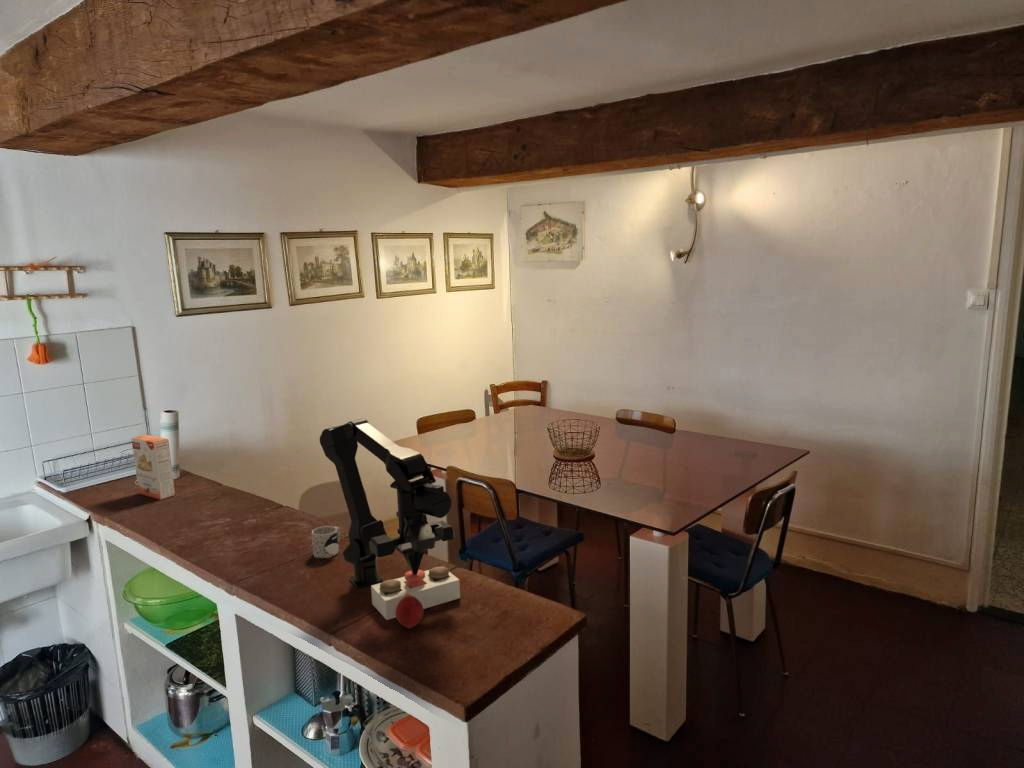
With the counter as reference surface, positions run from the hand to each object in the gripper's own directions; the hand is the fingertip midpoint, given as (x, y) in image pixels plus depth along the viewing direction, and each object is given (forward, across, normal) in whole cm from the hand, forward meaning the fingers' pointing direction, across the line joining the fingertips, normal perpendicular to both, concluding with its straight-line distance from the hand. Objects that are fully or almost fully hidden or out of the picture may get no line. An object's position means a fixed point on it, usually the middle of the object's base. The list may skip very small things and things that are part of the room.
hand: (414, 573), depth 159 cm
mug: (+7, -8, +41) cm, 42 cm away
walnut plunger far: (+6, +6, 0) cm, 9 cm away
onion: (+7, -6, -11) cm, 14 cm away
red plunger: (+5, 0, 0) cm, 5 cm away
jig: (+7, 0, 0) cm, 7 cm away
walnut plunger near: (+6, -6, 0) cm, 9 cm away
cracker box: (+7, -44, +128) cm, 135 cm away
